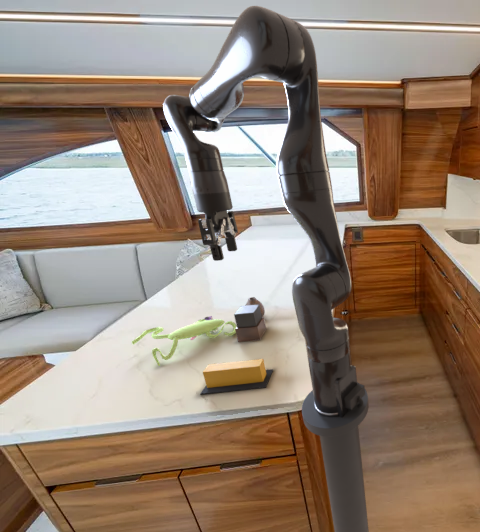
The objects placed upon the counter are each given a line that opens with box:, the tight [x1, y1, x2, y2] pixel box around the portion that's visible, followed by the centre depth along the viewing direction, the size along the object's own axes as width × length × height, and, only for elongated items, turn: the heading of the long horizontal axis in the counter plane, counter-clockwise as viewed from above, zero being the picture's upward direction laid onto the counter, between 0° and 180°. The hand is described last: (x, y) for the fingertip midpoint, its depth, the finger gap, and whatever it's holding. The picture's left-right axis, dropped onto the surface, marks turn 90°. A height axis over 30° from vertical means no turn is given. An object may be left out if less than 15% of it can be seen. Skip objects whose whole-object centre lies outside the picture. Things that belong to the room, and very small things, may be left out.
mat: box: [199, 368, 274, 396], centre depth 80 cm, size 16×7×1 cm, turn 97°
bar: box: [202, 358, 267, 388], centre depth 79 cm, size 14×3×5 cm, turn 97°
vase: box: [244, 296, 265, 317], centre depth 111 cm, size 7×7×9 cm
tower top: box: [233, 305, 262, 328], centre depth 99 cm, size 6×6×5 cm
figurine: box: [131, 315, 237, 367], centre depth 99 cm, size 18×27×6 cm
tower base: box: [235, 316, 267, 343], centre depth 101 cm, size 7×7×5 cm
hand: (226, 255), depth 77 cm, fingers open, 8 cm apart
